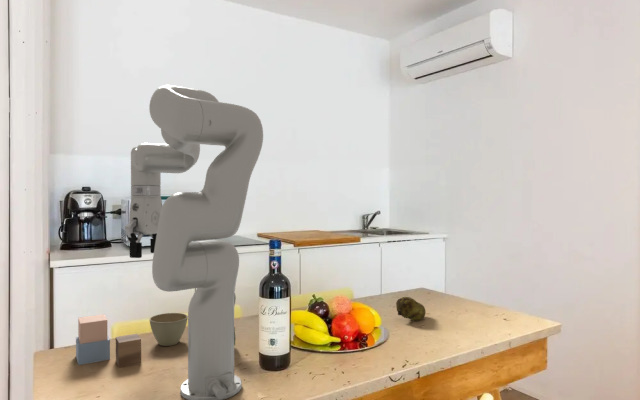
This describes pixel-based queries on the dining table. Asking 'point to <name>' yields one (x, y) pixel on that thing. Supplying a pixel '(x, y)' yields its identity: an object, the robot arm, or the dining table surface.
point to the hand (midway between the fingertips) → (146, 255)
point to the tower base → (92, 351)
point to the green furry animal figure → (410, 309)
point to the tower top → (92, 328)
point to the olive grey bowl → (168, 327)
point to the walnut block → (128, 350)
